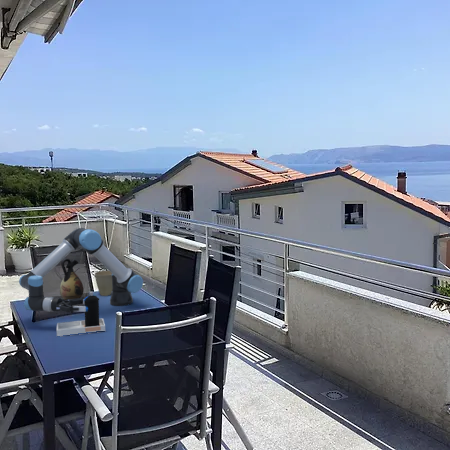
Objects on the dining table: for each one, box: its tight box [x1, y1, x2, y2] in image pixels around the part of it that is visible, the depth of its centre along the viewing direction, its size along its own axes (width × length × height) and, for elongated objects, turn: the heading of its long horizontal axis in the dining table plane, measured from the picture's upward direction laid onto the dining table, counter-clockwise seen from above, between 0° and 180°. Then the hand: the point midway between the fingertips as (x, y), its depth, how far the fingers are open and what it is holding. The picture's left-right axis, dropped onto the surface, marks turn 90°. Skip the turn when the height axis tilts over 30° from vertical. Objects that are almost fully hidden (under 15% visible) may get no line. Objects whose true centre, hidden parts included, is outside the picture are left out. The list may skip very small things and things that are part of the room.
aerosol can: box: [83, 291, 100, 327], centre depth 252 cm, size 8×8×20 cm
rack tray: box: [56, 318, 106, 337], centre depth 251 cm, size 25×13×4 cm, turn 109°
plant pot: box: [94, 270, 112, 297], centre depth 325 cm, size 15×15×16 cm
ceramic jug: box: [59, 257, 85, 301], centre depth 306 cm, size 17×15×30 cm
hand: (90, 305), depth 252 cm, fingers open, 13 cm apart
